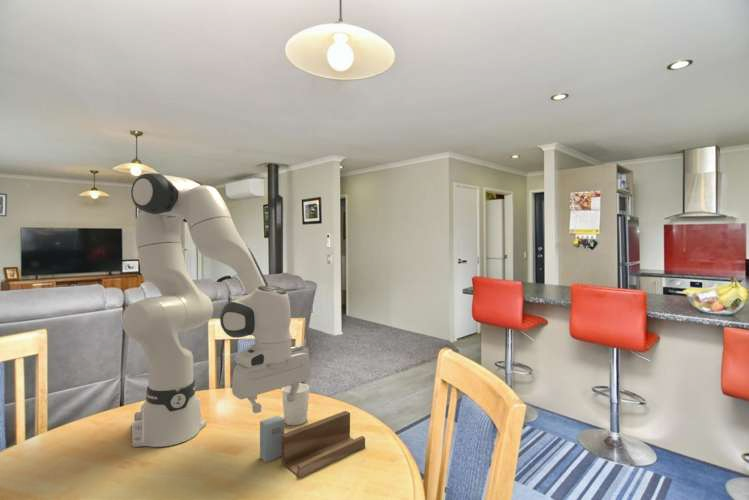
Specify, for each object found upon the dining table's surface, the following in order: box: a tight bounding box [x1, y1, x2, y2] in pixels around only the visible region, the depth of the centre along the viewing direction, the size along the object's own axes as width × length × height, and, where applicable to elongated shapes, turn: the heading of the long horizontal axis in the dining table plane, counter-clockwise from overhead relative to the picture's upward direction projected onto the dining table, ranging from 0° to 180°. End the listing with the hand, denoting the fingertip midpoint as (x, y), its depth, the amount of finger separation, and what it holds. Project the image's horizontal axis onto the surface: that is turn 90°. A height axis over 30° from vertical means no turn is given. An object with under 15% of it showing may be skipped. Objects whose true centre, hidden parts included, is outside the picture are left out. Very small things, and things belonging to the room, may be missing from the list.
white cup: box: [281, 382, 310, 426], centre depth 117 cm, size 8×8×10 cm
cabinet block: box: [259, 415, 285, 463], centre depth 97 cm, size 4×5×9 cm
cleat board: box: [281, 410, 366, 479], centre depth 98 cm, size 8×20×7 cm, turn 134°
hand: (274, 406), depth 97 cm, fingers open, 8 cm apart
